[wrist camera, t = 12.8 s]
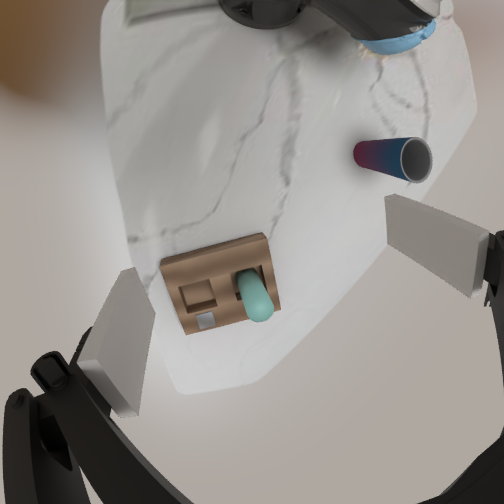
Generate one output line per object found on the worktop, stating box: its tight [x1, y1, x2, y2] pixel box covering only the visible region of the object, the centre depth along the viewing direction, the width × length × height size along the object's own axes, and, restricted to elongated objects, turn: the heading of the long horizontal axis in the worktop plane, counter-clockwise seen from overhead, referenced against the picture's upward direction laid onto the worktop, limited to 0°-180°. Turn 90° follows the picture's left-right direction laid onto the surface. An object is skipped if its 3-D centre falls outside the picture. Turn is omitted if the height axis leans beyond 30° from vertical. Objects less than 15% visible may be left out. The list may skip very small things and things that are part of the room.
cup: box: [354, 137, 432, 183], centre depth 42 cm, size 7×7×15 cm
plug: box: [235, 267, 274, 322], centre depth 46 cm, size 4×4×12 cm
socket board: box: [160, 232, 281, 335], centre depth 50 cm, size 14×18×4 cm
